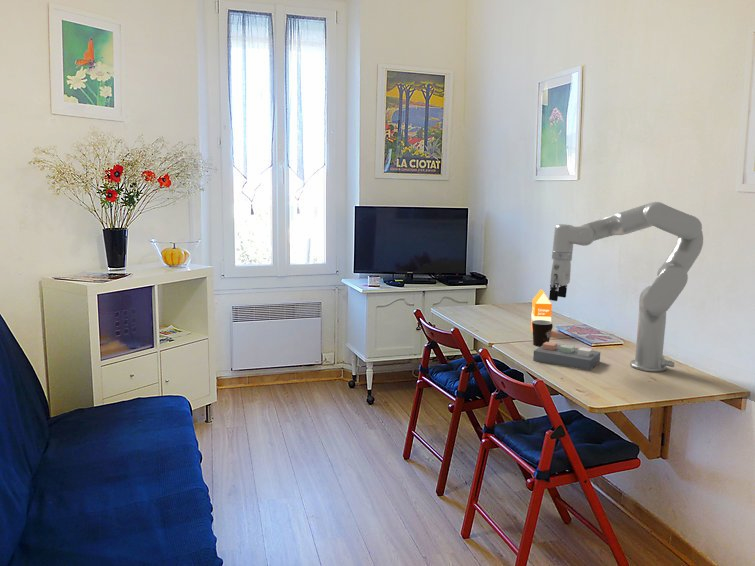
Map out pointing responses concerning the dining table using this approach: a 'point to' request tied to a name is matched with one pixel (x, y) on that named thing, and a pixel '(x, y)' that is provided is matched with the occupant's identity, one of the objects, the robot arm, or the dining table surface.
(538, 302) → the orange juice
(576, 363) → the grey button panel
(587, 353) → the key cream
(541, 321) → the coffee mug
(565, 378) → the dining table surface
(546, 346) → the key terracotta
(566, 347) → the key sage
